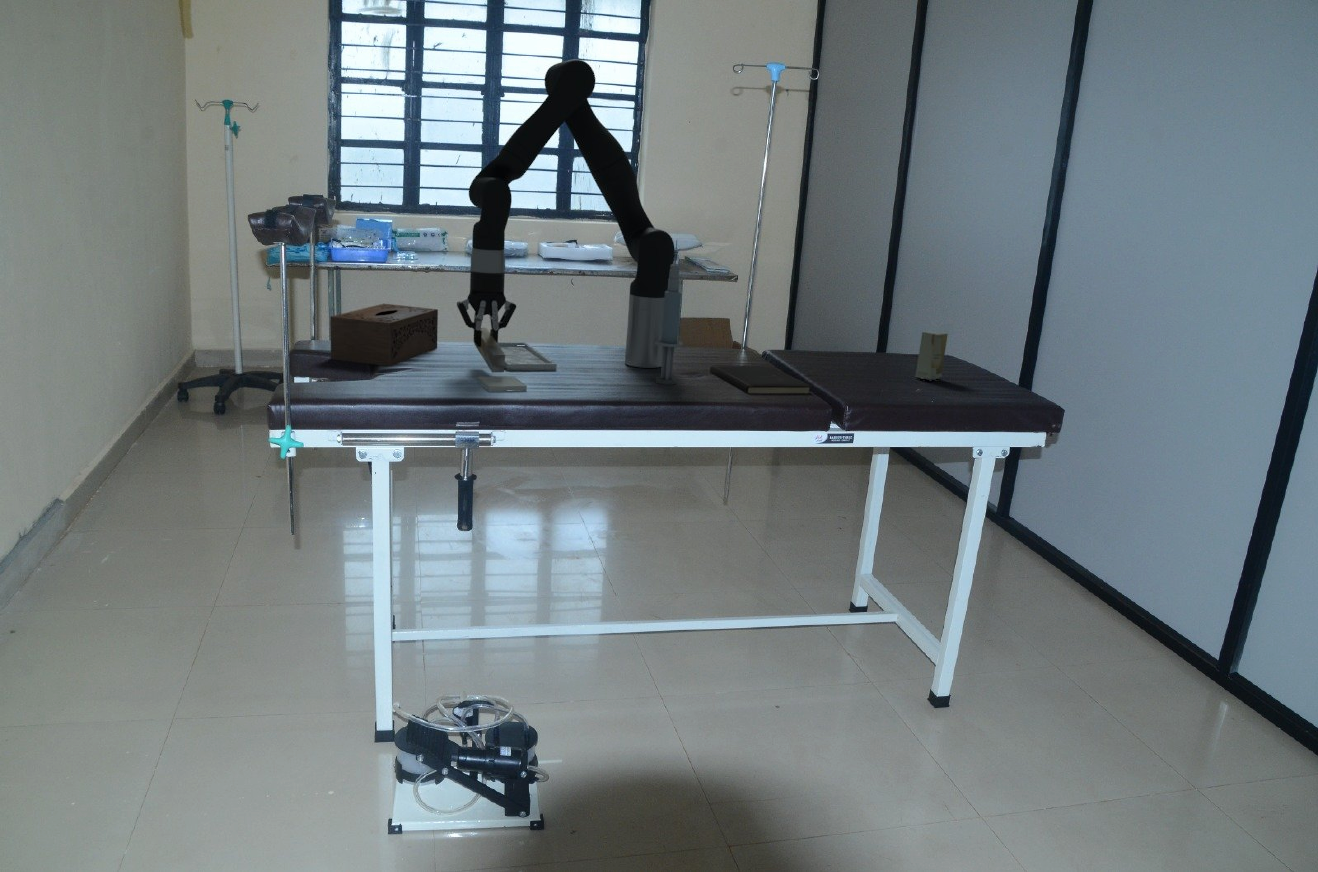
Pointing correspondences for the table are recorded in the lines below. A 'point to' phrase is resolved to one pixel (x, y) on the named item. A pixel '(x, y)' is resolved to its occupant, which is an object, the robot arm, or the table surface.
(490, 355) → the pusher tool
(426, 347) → the tissue box cover
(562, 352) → the table surface
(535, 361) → the instrument tray
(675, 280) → the syringe
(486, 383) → the tile
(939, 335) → the skincare box
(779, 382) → the hardcover book
